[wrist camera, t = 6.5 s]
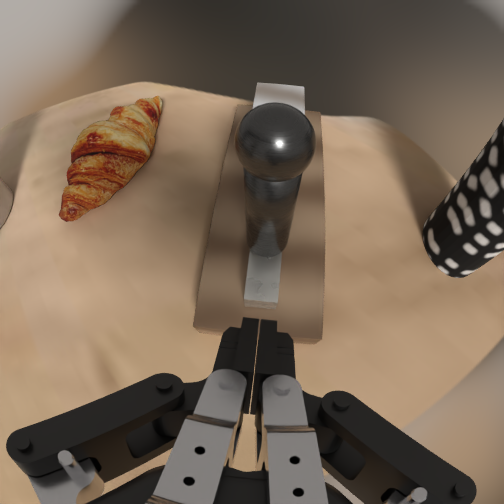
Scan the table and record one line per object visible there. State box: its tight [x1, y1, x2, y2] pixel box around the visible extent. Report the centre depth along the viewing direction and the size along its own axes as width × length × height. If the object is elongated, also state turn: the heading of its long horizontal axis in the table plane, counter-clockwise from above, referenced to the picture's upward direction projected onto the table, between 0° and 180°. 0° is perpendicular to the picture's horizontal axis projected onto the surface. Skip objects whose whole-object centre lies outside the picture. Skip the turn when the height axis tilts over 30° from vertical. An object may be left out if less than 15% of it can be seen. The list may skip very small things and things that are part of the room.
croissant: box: [59, 96, 162, 222], centre depth 32 cm, size 21×10×8 cm, turn 161°
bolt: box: [234, 102, 316, 309], centre depth 19 cm, size 12×4×14 cm, turn 174°
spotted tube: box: [423, 119, 504, 278], centre depth 20 cm, size 8×8×20 cm
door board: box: [193, 83, 325, 344], centre depth 27 cm, size 26×10×8 cm, turn 174°
